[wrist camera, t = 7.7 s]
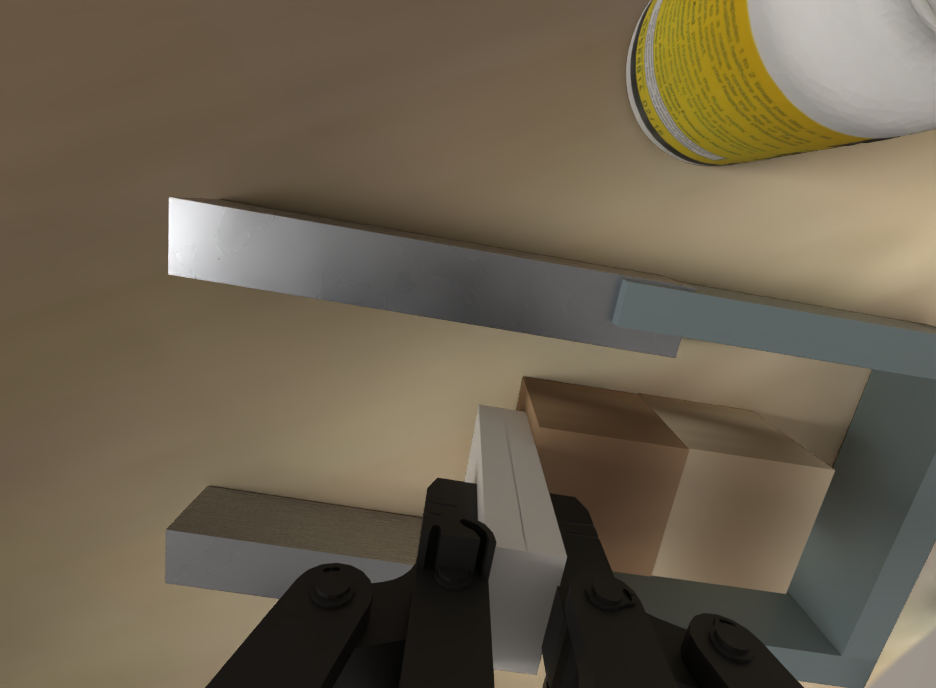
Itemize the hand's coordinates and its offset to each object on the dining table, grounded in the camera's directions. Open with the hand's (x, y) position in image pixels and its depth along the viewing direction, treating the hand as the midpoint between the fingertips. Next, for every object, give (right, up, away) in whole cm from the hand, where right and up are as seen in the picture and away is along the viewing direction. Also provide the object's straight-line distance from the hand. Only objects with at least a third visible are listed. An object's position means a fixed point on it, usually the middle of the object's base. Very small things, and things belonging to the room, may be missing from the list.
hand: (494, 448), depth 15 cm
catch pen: (+8, -1, +2) cm, 8 cm away
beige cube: (+7, -1, +2) cm, 7 cm away
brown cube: (+3, 0, +2) cm, 3 cm away
